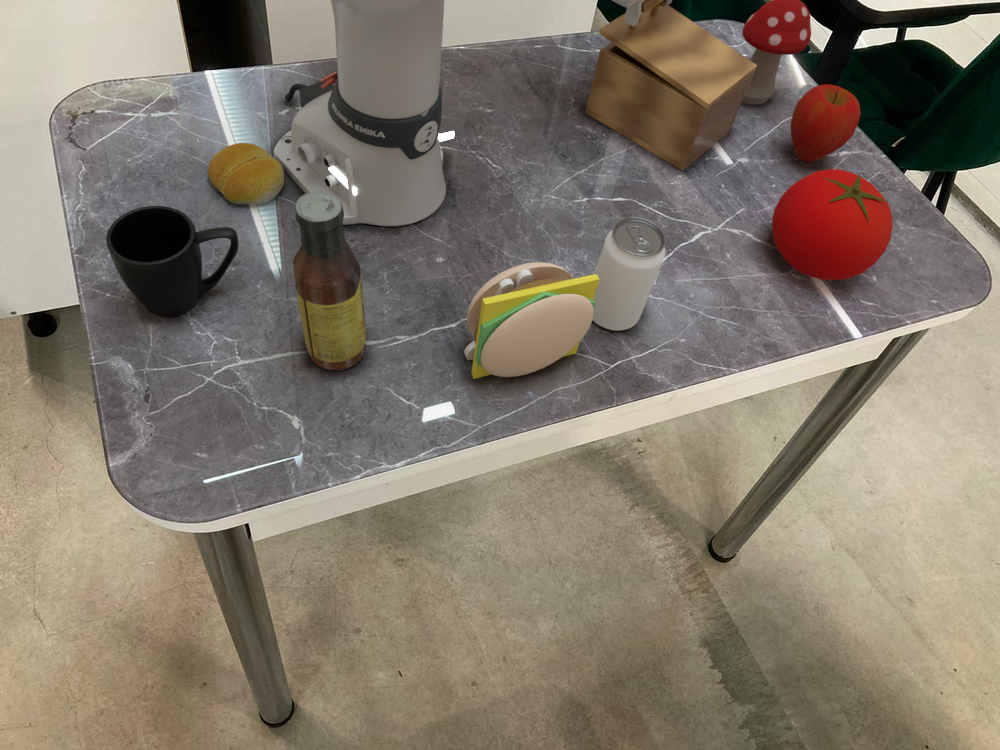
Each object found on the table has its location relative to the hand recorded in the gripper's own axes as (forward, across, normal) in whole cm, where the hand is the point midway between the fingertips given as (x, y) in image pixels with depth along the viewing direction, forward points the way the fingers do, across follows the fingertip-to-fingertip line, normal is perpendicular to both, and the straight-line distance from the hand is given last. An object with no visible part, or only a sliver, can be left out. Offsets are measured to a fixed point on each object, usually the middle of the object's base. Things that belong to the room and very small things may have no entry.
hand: (647, 13), depth 105 cm
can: (+14, +34, +22) cm, 43 cm away
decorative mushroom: (+14, -17, +12) cm, 25 cm away
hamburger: (+14, +46, +18) cm, 52 cm away
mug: (+14, +66, -12) cm, 68 cm away
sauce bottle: (+14, +60, +4) cm, 62 cm away
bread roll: (+14, +50, -22) cm, 56 cm away
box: (+14, 0, +6) cm, 15 cm away
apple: (+14, -10, +25) cm, 30 cm away
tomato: (+14, +8, +35) cm, 39 cm away
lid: (+3, 0, +6) cm, 6 cm away
